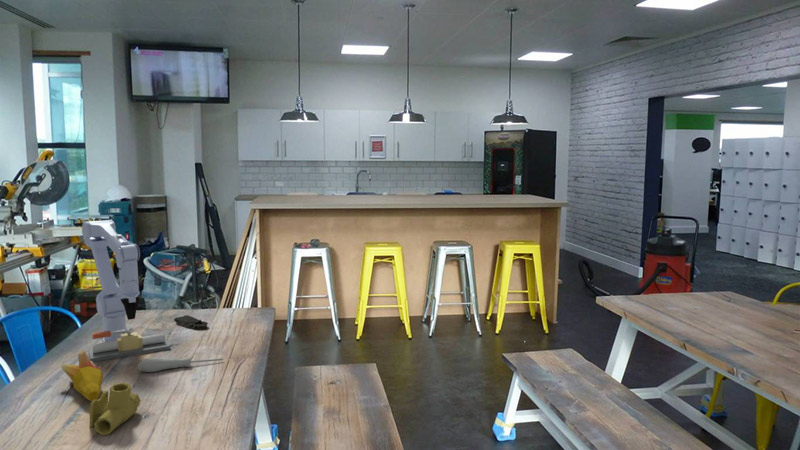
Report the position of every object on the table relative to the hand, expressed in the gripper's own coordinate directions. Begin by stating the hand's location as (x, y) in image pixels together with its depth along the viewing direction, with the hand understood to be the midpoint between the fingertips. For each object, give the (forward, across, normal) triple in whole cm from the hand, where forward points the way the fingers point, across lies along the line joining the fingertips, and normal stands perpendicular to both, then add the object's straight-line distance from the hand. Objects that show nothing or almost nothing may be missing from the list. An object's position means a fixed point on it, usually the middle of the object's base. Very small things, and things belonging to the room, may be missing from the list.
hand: (131, 318), depth 188 cm
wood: (+11, -19, +22) cm, 31 cm away
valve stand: (+10, +2, -1) cm, 11 cm away
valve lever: (+4, +3, -6) cm, 8 cm away
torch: (+11, +32, -16) cm, 37 cm away
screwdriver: (+11, +26, +11) cm, 31 cm away
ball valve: (+12, +56, -11) cm, 58 cm away
